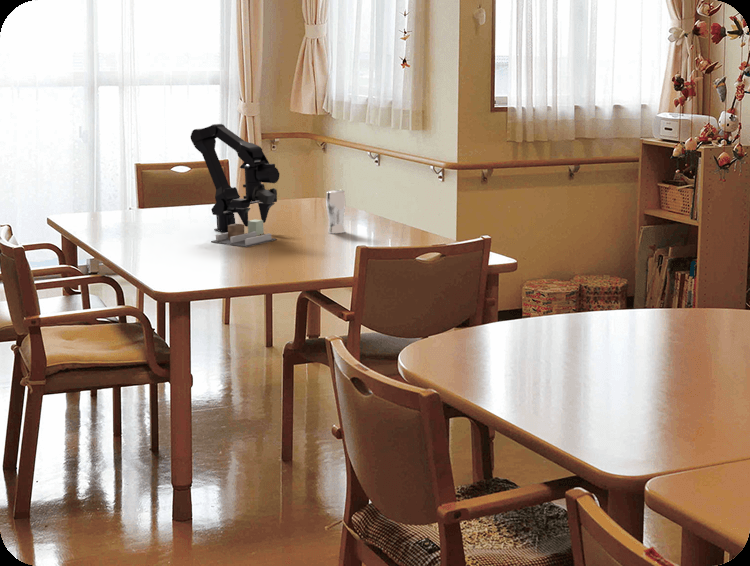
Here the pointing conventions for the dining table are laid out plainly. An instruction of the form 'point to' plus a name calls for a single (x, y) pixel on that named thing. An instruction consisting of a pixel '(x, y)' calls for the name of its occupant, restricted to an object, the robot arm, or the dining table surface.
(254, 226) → the sage block
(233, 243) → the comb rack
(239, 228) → the walnut block
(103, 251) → the dining table surface
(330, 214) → the white tall carton
